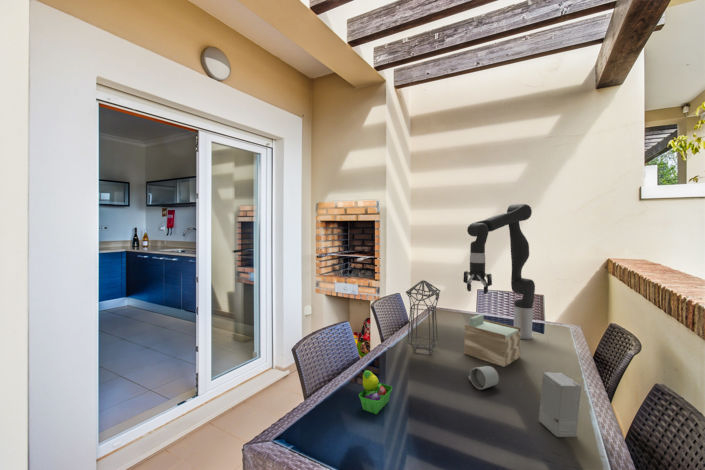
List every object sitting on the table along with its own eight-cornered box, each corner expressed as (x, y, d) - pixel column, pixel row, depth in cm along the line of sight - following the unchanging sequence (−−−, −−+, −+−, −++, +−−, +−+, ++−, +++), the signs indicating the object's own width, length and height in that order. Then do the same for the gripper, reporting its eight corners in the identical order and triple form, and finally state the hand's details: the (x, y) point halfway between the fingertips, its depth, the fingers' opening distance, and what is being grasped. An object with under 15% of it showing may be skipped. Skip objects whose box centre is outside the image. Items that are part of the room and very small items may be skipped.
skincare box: (537, 421, 99) (539, 371, 99) (559, 420, 100) (560, 370, 99) (557, 439, 91) (559, 384, 90) (580, 438, 91) (582, 384, 91)
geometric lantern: (403, 354, 151) (404, 281, 151) (410, 344, 165) (411, 277, 166) (437, 359, 145) (438, 283, 145) (441, 348, 159) (441, 279, 160)
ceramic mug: (500, 388, 119) (500, 368, 119) (485, 393, 115) (485, 372, 115) (477, 377, 129) (477, 358, 129) (463, 381, 125) (463, 362, 125)
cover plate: (481, 323, 162) (482, 313, 162) (518, 332, 149) (518, 321, 149) (466, 329, 152) (466, 318, 152) (504, 339, 139) (504, 328, 139)
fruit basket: (378, 417, 99) (378, 382, 99) (354, 409, 104) (354, 375, 104) (393, 401, 109) (393, 369, 109) (370, 394, 114) (371, 363, 114)
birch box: (481, 345, 163) (481, 318, 163) (519, 357, 149) (520, 327, 149) (464, 353, 152) (465, 324, 152) (504, 366, 138) (505, 335, 138)
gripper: (494, 262, 160) (494, 293, 161) (468, 259, 171) (467, 289, 171) (487, 263, 155) (487, 295, 156) (461, 260, 166) (460, 291, 166)
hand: (477, 292), depth 163 cm, fingers open, 8 cm apart
